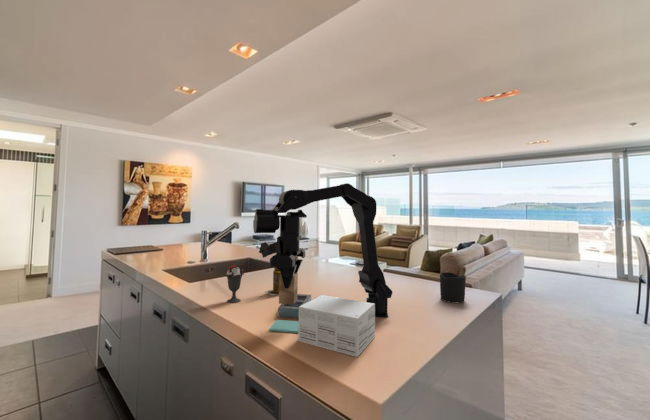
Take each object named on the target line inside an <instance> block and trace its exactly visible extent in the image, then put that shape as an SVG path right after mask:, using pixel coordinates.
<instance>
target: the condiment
mask: <svg viewBox="0 0 650 420" xmlns="http://www.w3.org/2000/svg"><path fill="white" fill-rule="evenodd" d="M273 268H274V270H273V273H272V275H273V277H272V282H273V283H272V286H273V287H272V290H265V292H266V293H267V294H269V295H270V296H272V297H274V296H279V276H280V275H281V272H280V270H279V269H278V268H276V267H273Z"/></svg>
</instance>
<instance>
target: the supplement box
mask: <svg viewBox="0 0 650 420" xmlns="http://www.w3.org/2000/svg"><path fill="white" fill-rule="evenodd" d="M298 321H299V329H298V333H297V335H298V336H297V341H298V342H301V343H305V344H308V345H312V346H315V347H319V348H321V349H325V350H326V349H327V350H329V351H334V352H337V353H340V354H345V355H348V356H353V357H355V358H358V357H359V356H360V354H362V352H363V351H364V350H365V349H366V347H367V346H369V344H371V342H372V341H373V340H374V338H375V337H376V316H375V303H368V302H366V301H361V300H355V299H348V298H342V297H336V296H331V295H325V294H321V295H319V296H317V297H316V298H313V299H311V301H309V302H307V303H305V304H303V305H301V306H299V319H298Z"/></svg>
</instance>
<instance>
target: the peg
mask: <svg viewBox="0 0 650 420" xmlns="http://www.w3.org/2000/svg"><path fill="white" fill-rule="evenodd" d="M298 274H299V272H297V273H294V275H293V278H292V280H291V283H290V286H289V288H285V287H284V283H283V279H282V275H280V276H279V295H278V304H279V305H281V304H295V302H296V301H297V294H298V288H299V287H298V284H299V281H298V279H299V278H298V277H299V275H298Z"/></svg>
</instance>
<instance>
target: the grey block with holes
mask: <svg viewBox="0 0 650 420" xmlns="http://www.w3.org/2000/svg"><path fill="white" fill-rule="evenodd" d="M311 300H312V294H305V293H304V294H302V293H297V301H296V302H295V304H279V306H278V308H277V317H278V318H283V319H284V318H286V319H298V320H299V306H301V305H303V304H305V303H307V302H309V301H311Z"/></svg>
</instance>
